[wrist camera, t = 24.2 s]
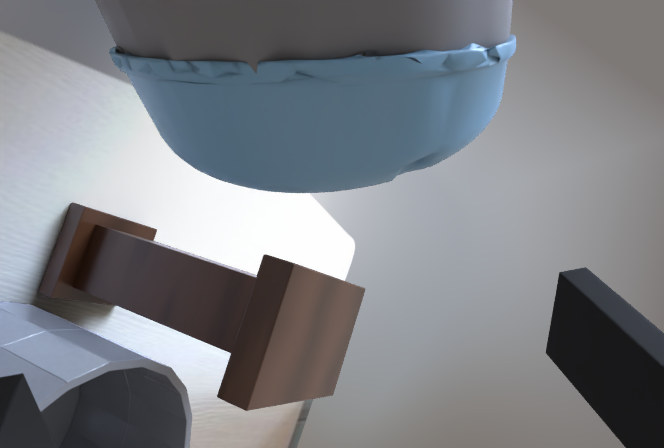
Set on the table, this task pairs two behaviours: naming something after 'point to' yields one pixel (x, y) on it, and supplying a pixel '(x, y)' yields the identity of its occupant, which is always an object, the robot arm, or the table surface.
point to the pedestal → (214, 305)
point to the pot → (92, 384)
